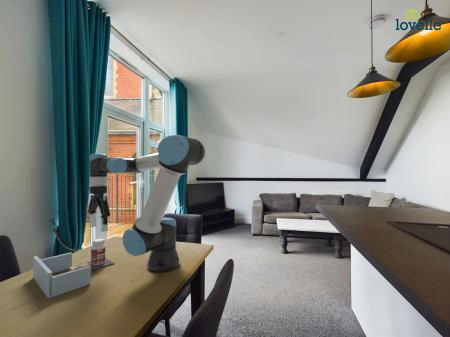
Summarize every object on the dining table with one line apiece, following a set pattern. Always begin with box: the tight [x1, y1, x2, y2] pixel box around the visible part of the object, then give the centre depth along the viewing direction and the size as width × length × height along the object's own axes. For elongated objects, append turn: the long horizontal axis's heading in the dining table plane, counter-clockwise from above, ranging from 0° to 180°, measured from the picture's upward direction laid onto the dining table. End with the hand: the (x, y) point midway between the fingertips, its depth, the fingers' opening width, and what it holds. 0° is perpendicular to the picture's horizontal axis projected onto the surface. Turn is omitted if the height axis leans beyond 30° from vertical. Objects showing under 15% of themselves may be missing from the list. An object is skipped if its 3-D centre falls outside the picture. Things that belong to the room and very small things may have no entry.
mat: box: [81, 257, 115, 272], centre depth 112 cm, size 11×11×1 cm
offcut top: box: [69, 262, 89, 271], centre depth 100 cm, size 6×4×2 cm, turn 138°
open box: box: [32, 252, 92, 299], centre depth 95 cm, size 24×14×9 cm, turn 50°
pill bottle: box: [90, 238, 106, 265], centre depth 112 cm, size 6×6×11 cm
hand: (98, 229), depth 112 cm, fingers open, 13 cm apart
